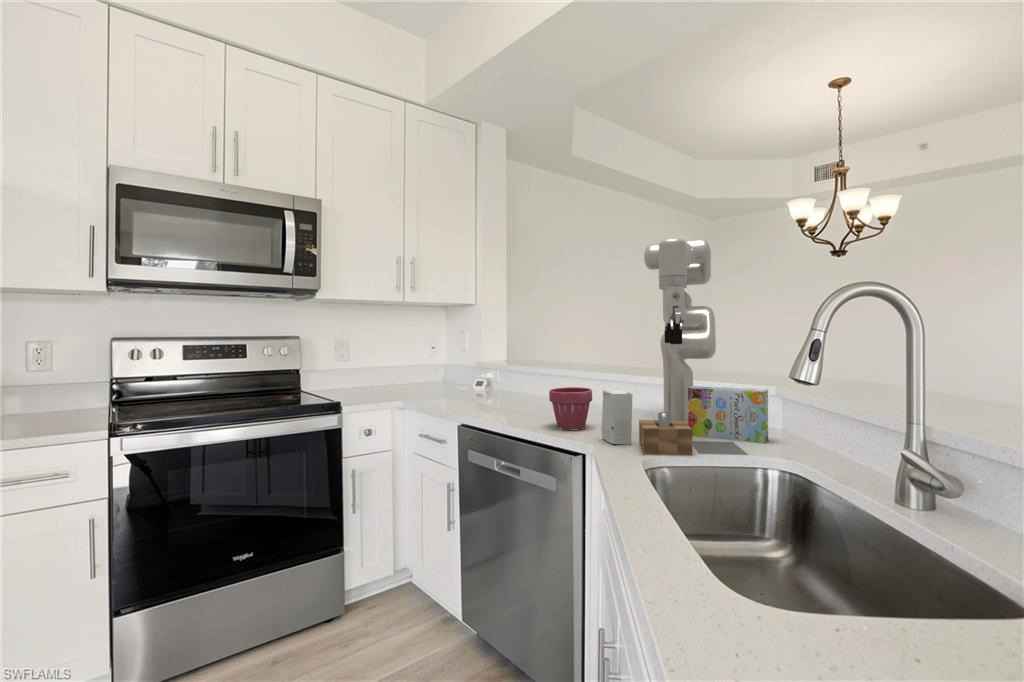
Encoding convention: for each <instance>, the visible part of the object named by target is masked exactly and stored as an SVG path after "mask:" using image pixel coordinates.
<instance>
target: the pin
mask: <svg viewBox="0 0 1024 682" xmlns="http://www.w3.org/2000/svg"><path fill="white" fill-rule="evenodd" d="M657 420H658V426H670V413H666V412H664V411H661V412H658V413H657Z"/></svg>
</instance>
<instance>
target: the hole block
mask: <svg viewBox="0 0 1024 682" xmlns="http://www.w3.org/2000/svg"><path fill="white" fill-rule="evenodd" d="M638 432H639V433H638V437H639V438H638V440H639V441H638V444H639V448H640V447H641V448H640V450H641V453H642V455H643V454H644V455H650V456H651V455H654V456H659V455H660V456H662V455H663V456H691V457H692V456H693V446H692V441H693V436H692V429H691V428H690V427H689V426H688V425H687V424H686V423H685V422H684V421H678V420H670V426H658V419H639V420H638Z"/></svg>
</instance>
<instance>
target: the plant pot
mask: <svg viewBox="0 0 1024 682" xmlns="http://www.w3.org/2000/svg"><path fill="white" fill-rule="evenodd" d="M548 395H549V396H548V397H549V398H548V399H549V402H551V404H552V408H553V414H554V417H555V422H556V425H557V428H558V427H559V428H562V429H581V430H584V429H586V424H587V419H588V415H589V409H590V405H591V404H590V403H591V402H593V390H592V389H591V388H589V387H588V388H587V387H577V386H576V387H574V386H572V387H569V386H567V387H557V388H552V389H549V393H548ZM559 428H558V429H559ZM583 428H584V429H583ZM562 429H561V430H562Z"/></svg>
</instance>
